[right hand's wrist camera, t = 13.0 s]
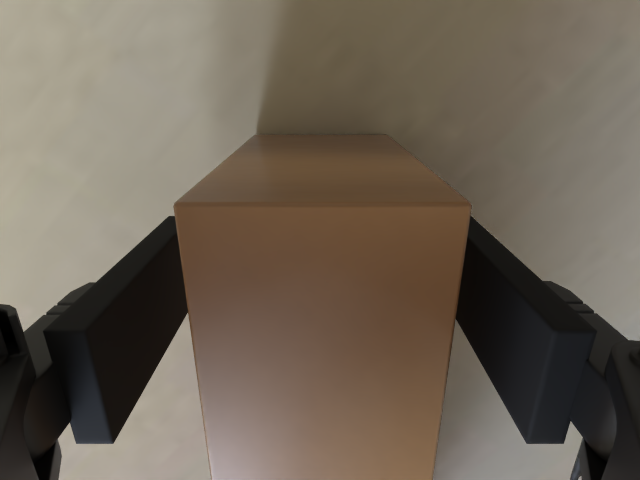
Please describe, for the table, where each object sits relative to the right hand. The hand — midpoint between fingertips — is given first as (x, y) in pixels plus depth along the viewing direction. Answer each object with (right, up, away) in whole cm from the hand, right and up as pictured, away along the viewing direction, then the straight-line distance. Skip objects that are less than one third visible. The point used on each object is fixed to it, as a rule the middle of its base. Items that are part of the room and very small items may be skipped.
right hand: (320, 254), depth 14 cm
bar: (0, -7, +5) cm, 9 cm away
